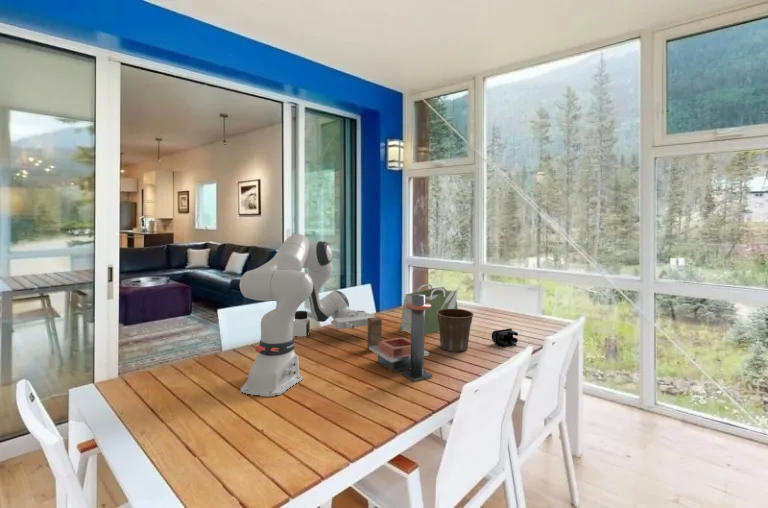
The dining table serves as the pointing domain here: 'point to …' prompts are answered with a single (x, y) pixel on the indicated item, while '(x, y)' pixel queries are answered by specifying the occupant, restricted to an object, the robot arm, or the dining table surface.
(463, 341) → the plant pot
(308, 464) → the dining table surface
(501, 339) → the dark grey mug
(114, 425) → the dining table surface
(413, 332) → the bracket
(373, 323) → the tall wooden post
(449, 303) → the grocery bag
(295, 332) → the medicine bottle
